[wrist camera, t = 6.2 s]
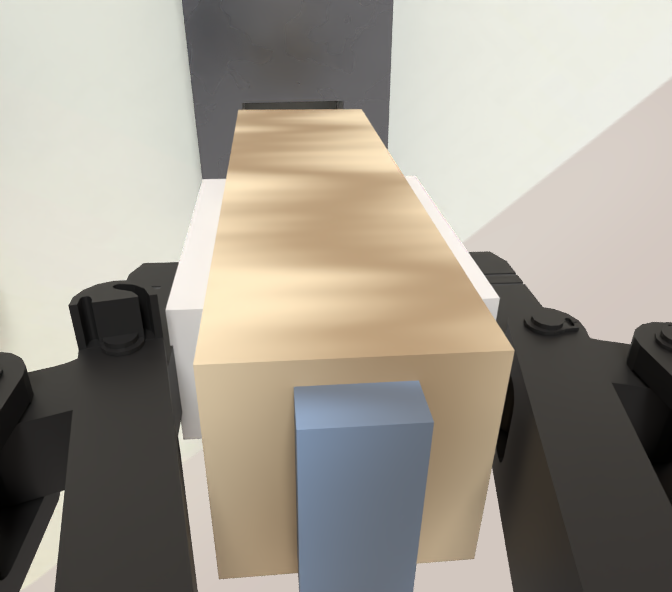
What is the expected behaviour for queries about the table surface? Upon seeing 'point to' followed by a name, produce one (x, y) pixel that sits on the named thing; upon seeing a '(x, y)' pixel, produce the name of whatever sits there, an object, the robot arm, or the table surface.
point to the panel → (284, 62)
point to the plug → (340, 365)
